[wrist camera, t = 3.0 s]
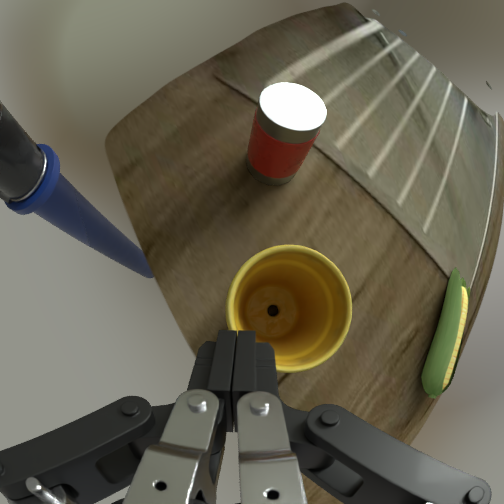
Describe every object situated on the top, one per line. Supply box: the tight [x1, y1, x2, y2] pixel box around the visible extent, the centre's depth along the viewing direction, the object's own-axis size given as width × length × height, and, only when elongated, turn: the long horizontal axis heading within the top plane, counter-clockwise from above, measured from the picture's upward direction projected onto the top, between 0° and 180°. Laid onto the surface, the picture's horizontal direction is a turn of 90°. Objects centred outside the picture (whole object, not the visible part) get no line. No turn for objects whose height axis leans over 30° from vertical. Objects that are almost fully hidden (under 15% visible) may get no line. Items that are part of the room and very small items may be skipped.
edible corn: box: [421, 268, 470, 398], centre depth 30 cm, size 5×20×5 cm, turn 157°
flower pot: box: [225, 245, 352, 373], centre depth 26 cm, size 10×10×10 cm
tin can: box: [246, 82, 326, 185], centre depth 29 cm, size 7×7×12 cm
